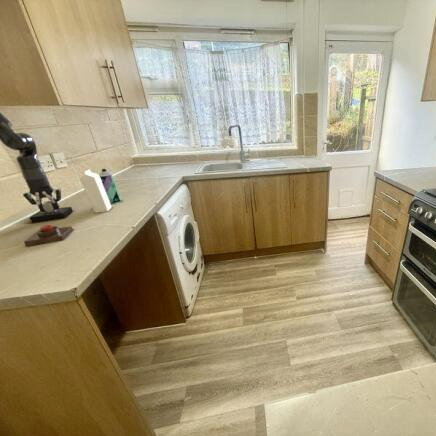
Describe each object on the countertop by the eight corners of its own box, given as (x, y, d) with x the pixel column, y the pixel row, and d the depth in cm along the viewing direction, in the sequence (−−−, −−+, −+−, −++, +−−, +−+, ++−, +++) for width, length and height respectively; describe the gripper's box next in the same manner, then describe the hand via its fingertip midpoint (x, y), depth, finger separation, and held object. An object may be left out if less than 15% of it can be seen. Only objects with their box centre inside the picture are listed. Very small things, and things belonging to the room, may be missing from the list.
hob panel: (32, 223, 118) (29, 217, 116) (42, 215, 126) (39, 210, 125) (65, 218, 122) (62, 212, 121) (73, 211, 131) (70, 206, 129)
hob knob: (43, 213, 120) (39, 203, 118) (47, 211, 124) (42, 201, 122) (55, 212, 122) (50, 202, 120) (58, 209, 126) (54, 199, 123)
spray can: (111, 202, 144) (98, 168, 135) (122, 200, 146) (109, 167, 137) (110, 205, 139) (96, 170, 131) (121, 202, 141) (108, 169, 133)
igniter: (26, 246, 96) (21, 237, 95) (39, 235, 105) (35, 227, 103) (63, 240, 100) (59, 232, 99) (73, 230, 109) (69, 222, 107)
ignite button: (39, 233, 99) (37, 229, 98) (44, 229, 102) (42, 225, 101) (50, 231, 100) (49, 227, 100) (54, 228, 103) (53, 224, 103)
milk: (112, 208, 134) (96, 168, 125) (108, 212, 129) (91, 170, 119) (99, 209, 132) (82, 169, 123) (94, 214, 127) (77, 172, 118)
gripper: (57, 173, 122) (70, 205, 129) (19, 177, 116) (35, 210, 123) (51, 177, 116) (66, 210, 122) (11, 181, 110) (28, 215, 117)
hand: (50, 210), depth 123 cm, fingers closed on hob knob, 4 cm apart
